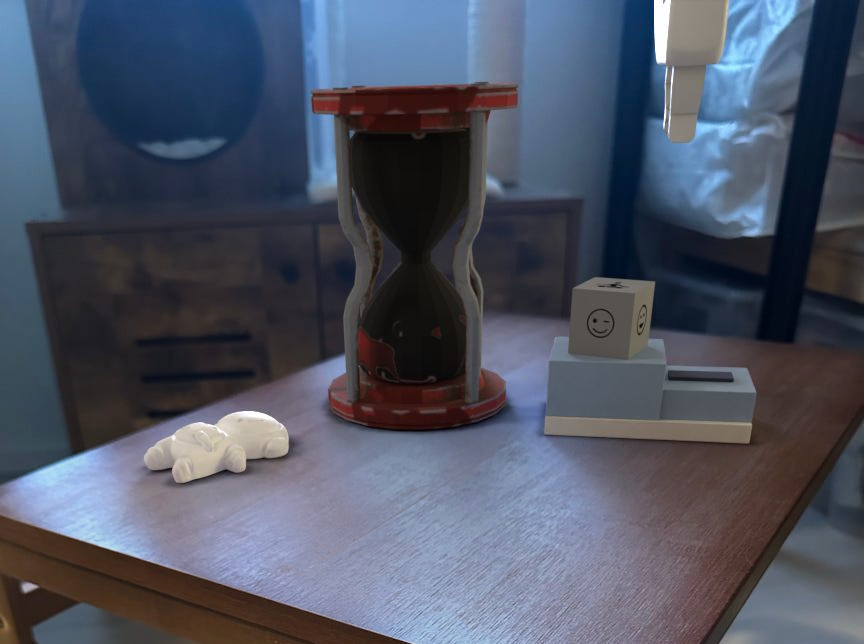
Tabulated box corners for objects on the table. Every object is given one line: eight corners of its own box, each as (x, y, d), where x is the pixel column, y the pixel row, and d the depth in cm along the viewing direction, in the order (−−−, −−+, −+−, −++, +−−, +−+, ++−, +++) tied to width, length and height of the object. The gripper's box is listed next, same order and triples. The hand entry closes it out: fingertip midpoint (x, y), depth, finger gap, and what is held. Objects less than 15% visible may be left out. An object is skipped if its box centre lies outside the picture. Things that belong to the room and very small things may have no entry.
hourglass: (294, 401, 87) (270, 88, 74) (426, 369, 95) (425, 82, 83) (406, 445, 76) (400, 86, 63) (543, 403, 84) (563, 80, 72)
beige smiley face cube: (568, 353, 76) (572, 288, 74) (589, 339, 80) (594, 277, 77) (628, 359, 74) (635, 293, 71) (647, 345, 77) (655, 281, 75)
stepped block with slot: (738, 411, 81) (750, 340, 78) (749, 443, 74) (762, 367, 71) (551, 404, 84) (555, 335, 81) (544, 434, 77) (548, 361, 74)
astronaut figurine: (128, 461, 75) (121, 424, 73) (253, 426, 81) (250, 391, 80) (185, 491, 69) (179, 451, 67) (315, 451, 75) (312, 414, 74)
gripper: (770, -125, 54) (735, 146, 61) (735, -81, 71) (711, 128, 78) (656, -115, 55) (635, 150, 62) (649, -73, 72) (633, 131, 79)
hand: (677, 138), depth 70 cm, fingers open, 8 cm apart
